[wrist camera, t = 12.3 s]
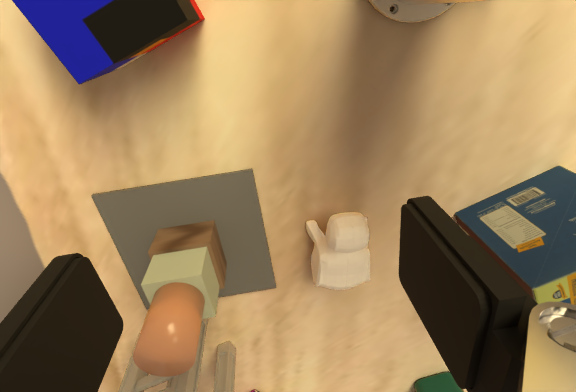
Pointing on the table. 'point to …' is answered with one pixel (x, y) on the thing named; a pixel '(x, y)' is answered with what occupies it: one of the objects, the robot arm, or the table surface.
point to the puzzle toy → (106, 30)
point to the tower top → (184, 275)
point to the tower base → (192, 244)
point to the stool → (186, 384)
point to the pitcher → (437, 383)
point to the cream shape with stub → (340, 251)
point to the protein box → (531, 233)
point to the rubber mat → (187, 210)
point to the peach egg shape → (170, 331)
